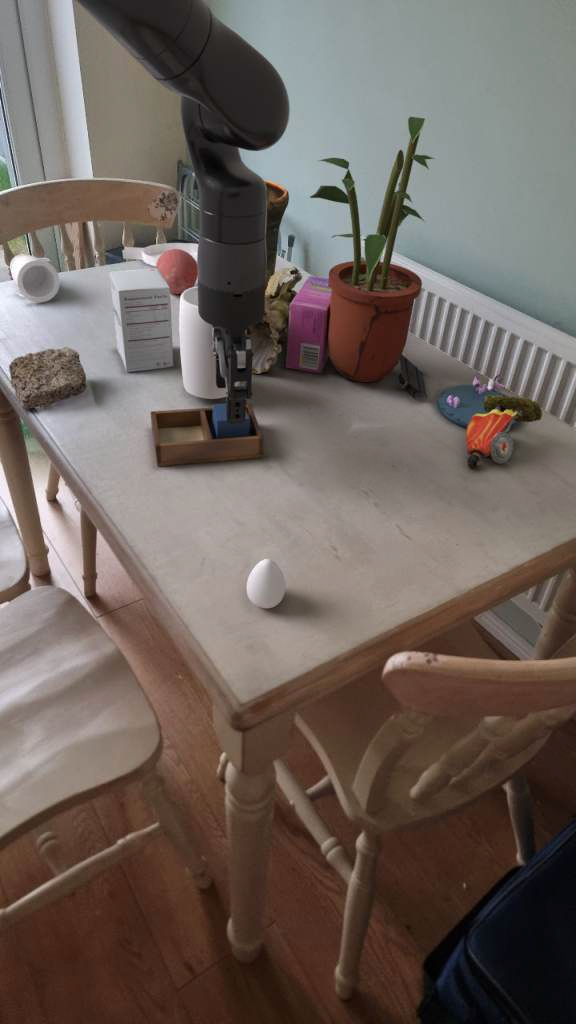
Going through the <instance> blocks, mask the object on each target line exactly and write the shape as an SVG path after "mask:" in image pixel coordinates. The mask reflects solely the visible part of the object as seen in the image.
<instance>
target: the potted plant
mask: <svg viewBox="0 0 576 1024" xmlns="http://www.w3.org/2000/svg"><path fill="white" fill-rule="evenodd" d="M425 120H426V118H425V117H416V116H409V117H408V119H407V129H408V132H409V135H410V137H409V141H408V145H407V149H406V154H405V155H404V152H403V149H399V151H398V152H397V154H396V156H395V157H396V158H395V160H394V162H393V165H392V168H391V172H390V176H389V180H388V182H387V186H386V190H385V195H384V198H383V203H382V206H381V210H380V215H379V219H378V224H377V225H378V226H377V228H376V234H373V233H371V234H369V233H368V234H367V235H366V237H365V238H363V241H364V250H363V251H364V252H363V253H364V259H365V260H362V238H361V236H362V234H361V225H360V214H359V205H358V197H357V192H356V187H355V185H356V182H355V180H354V179H353V176H352V174H351V171H350V168H349V166H350V161H348V160H346V159H344V158H341V157H329V158H322V159H319V160H318V162H324V163H326V164H330V165H333V166H336V167H338V168H339V167H340V168H342V169H345V170H347V171H346V173H345V175H344V178H341V183H342V184H343V186H344V188H345V191H346V192H345V191H344V190H343V189H341V188H340V187H338V186H336V185H320V186H319V188H318V189H317V190H316V192H315V193H313V194H312V195H310V196H309V198H310V199H323V200H325V201H330V202H334V203H340V204H346V205H348V206H349V213H350V219H351V220H350V221H351V230H352V233H343V234H335V235H332V236H330V238H334V237H343V238H350V239H351V238H352V245H353V246H352V247H353V260H352V261H345V262H341V263H338V264H336V265H334V266H332V267H331V268H330V270H329V271H328V278H327V279H328V284H329V286H330V288H331V289H332V292H331V302H330V312H329V323H328V334H327V338H328V350H329V359H330V360H331V362H332V364H333V366H334V368H335V369H336V371H337V372H339V373H340V374H341V375H342V376H343V377H344V378H347V379H349V380H351V381H353V382H359V383H373V382H376V381H380V380H381V379H384V378H385V377H387V376H389V374H390V373H391V372H393V370H394V369H395V368H396V367H397V366H398V365H399V363H400V357H401V355H403V352H404V350H405V348H406V344H407V339H408V335H409V330H410V326H411V319H412V314H413V310H414V304H415V299H417V298H418V297H419V295H420V294H421V291H422V287H423V286H422V285H423V281H422V279H421V277H420V276H419V275H418V274H417V273H415V272H414V271H412V270H410V269H409V268H406V267H403V266H401V265H397V264H393V263H392V258H393V253H394V247H395V243H396V239H397V234H398V230H399V227H401V226H402V223H403V221H404V220H405V219H406V218H407V217H408V216H413V217H415V218H418V219H420V220H421V221H422V222H423V223H426V221H425V220H424V218H422V216H421V215H420V214H419V213H418V211H417V210H416V209H414V208H411V206H408V205H406V204H404V202H405V199H406V200H408V201H409V202H410V203H413V200H412V198H411V195H410V194H409V193H407V189H408V186H409V181H410V178H411V177H410V176H411V172H412V167H413V163H414V161H415V162H416V163H418V164H419V165H421V166H423V167H425V168H426V169H427V170H430V168H429V165H428V164H427V160H435V158H434V157H432V156H430V155H427V154H417V153H416V151H417V146H418V143H419V140H420V135H421V131H422V130H423V128H424V126H425V125H424V124H425ZM400 176H401V177H400ZM399 178H400V180H399ZM398 181H399V182H398ZM397 185H398V189H396V188H397ZM384 249H385V251H384ZM383 254H384V256H383ZM382 257H383V261H381V259H382Z"/></svg>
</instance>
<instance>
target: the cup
mask: <svg viewBox="0 0 576 1024" xmlns="http://www.w3.org/2000/svg"><path fill="white" fill-rule="evenodd" d="M178 317H179V320H178V321H179V323H178V332H179V333H178V334H179V351H180V352H179V353H180V364H181V371H182V372H181V375H182V382H183V383H182V384H183V387H184V390H185V391H186V392H187V393H189V394H190V395H192V396H194V397H197V398H201V399H207V400H208V399H209V400H215V399H223V398H227V395H226V393H225V390H226V388H218V387H217V385H216V360H218V359H215V357H214V356H213V348H212V345H211V341H212V325H211V324H209V323H207V322H205V321H204V320H203V319H202V318H201V317H200V315H199V313H198V285H196V286H193V287H192V288H189V289H187V290H185V291H184V292H183V293H182V294H180V297H179V315H178ZM235 386H240V382H236V383H235Z"/></svg>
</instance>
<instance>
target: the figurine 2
mask: <svg viewBox="0 0 576 1024" xmlns="http://www.w3.org/2000/svg"><path fill="white" fill-rule="evenodd" d="M484 409H485V411H487V412H488V413H487V414H476V415H474V416H473V417H472V419H471V420H470V422H469V424H468V426H467V429H466V430H465V439H466V451H467V453H468V454H470V455H469V456H468V458H467V466H468V467H469V469H475V468H477V467H478V465H479V463H480V461H481V458H486V457H489V456H490V458H491V459H492V461H493V462H494V463H497V464H499V465H501V464H504V463H506V462H508V461H509V459H510V458H511V456H512V454H513V449H514V445H515V444H516V442H515V441H513V439H512V436H511V435H510V434H509V433H508V432H509V431H510V430H511V428H510V427H511V424H512V423H513V421H519V422H524V423H533V422H536V421H537V422H539V421H541V419H542V417H543V410H542V408H541V407H540V405H539V404H538V402H536V400H533V399H530V398H529V397H525V398H523V397H518V396H509V395H506V396H502V397H500V396H496V395H495V396H492V395H490V396H487V397H485V401H484Z"/></svg>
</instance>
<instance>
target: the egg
mask: <svg viewBox="0 0 576 1024" xmlns="http://www.w3.org/2000/svg"><path fill="white" fill-rule="evenodd" d="M279 566H280V565H278V564H277V562H275V561H274V560H273V559H271V558H263V559H262V560H261V561H259V562H258V563H257V564H256V565H255V566H254V567H253V569H251V572H250V574H249V576H248V578H247V581H246V594H247V598H248V599H249V601H250V602H251V603H252V604H253V605H254V606H257V607H259V608H263V609H271V608H274V607H276V606H278V605H279V604H280V603H281V601H283V598H284V596H285V593H286V579H285V576H284V573H283V571H282V569H281V567H279Z"/></svg>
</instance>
